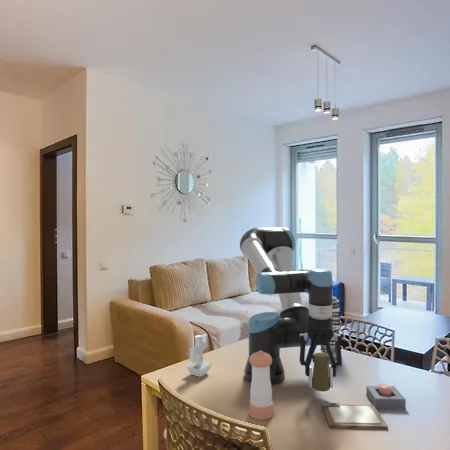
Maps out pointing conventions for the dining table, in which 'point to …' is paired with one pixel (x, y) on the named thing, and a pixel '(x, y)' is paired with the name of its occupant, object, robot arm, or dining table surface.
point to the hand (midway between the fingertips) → (320, 385)
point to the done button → (385, 390)
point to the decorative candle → (333, 326)
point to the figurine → (198, 357)
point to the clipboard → (353, 416)
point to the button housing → (386, 398)
